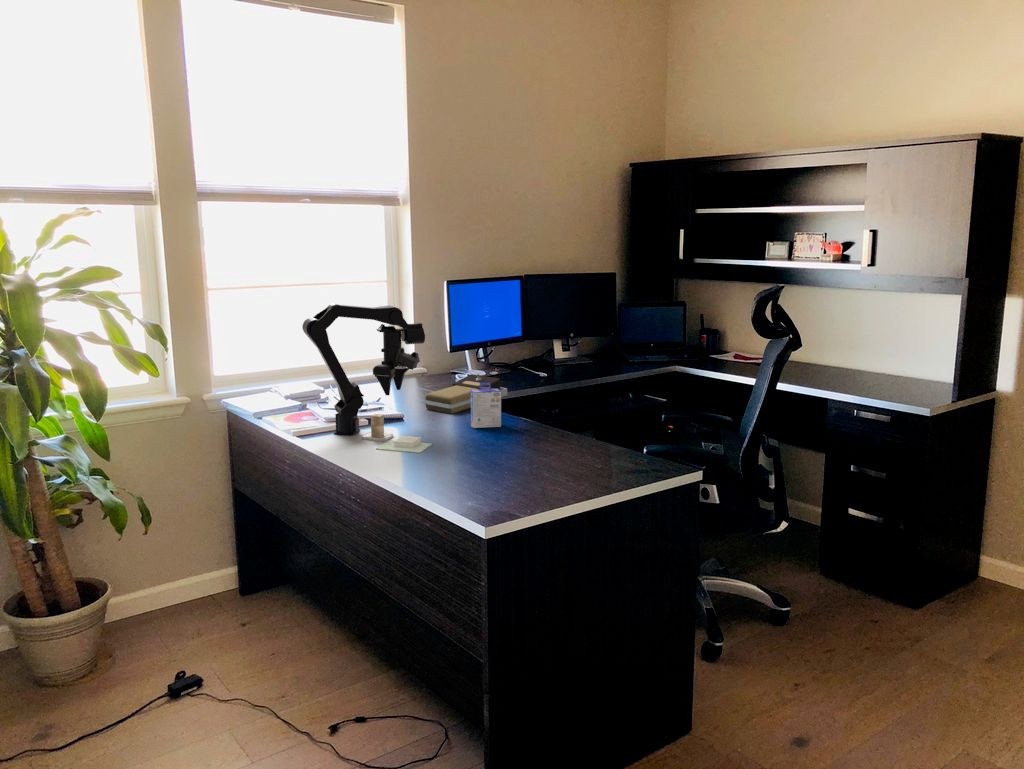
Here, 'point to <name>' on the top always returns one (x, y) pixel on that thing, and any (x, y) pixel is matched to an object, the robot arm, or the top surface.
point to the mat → (416, 449)
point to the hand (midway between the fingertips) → (393, 392)
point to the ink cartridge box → (485, 407)
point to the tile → (407, 441)
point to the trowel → (377, 429)
